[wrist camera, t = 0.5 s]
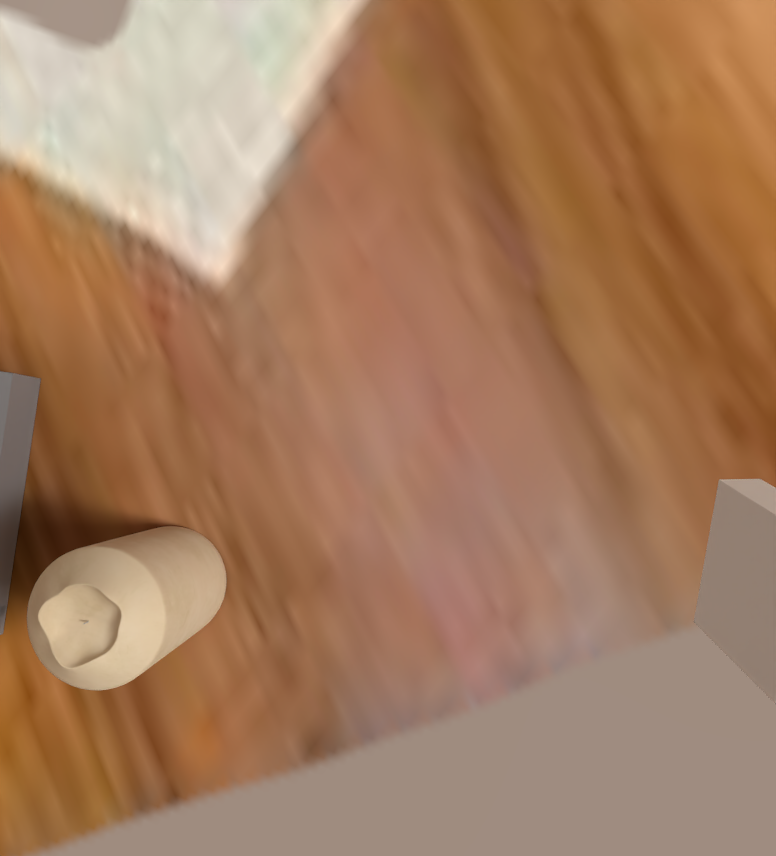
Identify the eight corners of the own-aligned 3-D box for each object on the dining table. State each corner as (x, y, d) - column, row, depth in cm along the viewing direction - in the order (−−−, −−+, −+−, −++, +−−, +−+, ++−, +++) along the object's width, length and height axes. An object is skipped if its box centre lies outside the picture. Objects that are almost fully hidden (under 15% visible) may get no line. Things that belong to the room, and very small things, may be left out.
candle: (205, 652, 37) (119, 726, 27) (104, 612, 37) (-18, 670, 27) (244, 548, 37) (173, 583, 27) (142, 508, 37) (35, 529, 27)
